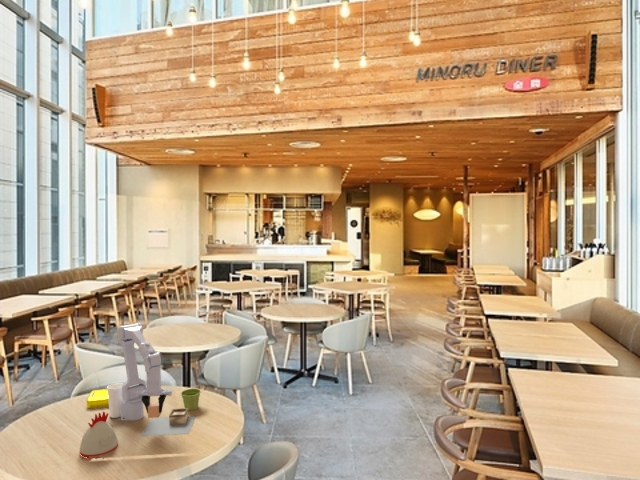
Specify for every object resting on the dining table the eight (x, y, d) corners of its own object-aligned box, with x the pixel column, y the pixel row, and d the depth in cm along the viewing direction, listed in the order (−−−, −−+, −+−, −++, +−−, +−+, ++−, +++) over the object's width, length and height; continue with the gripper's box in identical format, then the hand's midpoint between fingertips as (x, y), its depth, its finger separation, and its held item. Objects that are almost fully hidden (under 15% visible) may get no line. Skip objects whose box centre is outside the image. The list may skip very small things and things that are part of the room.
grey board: (140, 438, 197) (140, 436, 197) (152, 420, 215) (151, 417, 215) (188, 436, 198) (188, 433, 198) (196, 417, 216) (196, 415, 216)
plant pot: (189, 415, 219) (189, 397, 219) (177, 410, 225) (176, 392, 225) (205, 408, 227) (204, 391, 226) (193, 404, 233) (192, 387, 232)
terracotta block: (148, 417, 198) (147, 406, 198) (150, 413, 203) (150, 402, 202) (158, 417, 199) (158, 406, 198) (161, 413, 203) (160, 401, 203)
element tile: (91, 398, 243) (91, 389, 242) (122, 394, 247) (122, 386, 247) (86, 409, 228) (85, 400, 228) (119, 405, 233) (119, 396, 232)
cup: (129, 412, 223) (128, 383, 223) (120, 419, 215) (119, 389, 215) (113, 411, 224) (112, 382, 224) (104, 419, 216) (102, 388, 216)
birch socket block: (169, 424, 208) (169, 415, 208) (172, 417, 215) (172, 408, 215) (185, 423, 209) (185, 414, 208) (188, 416, 216) (188, 408, 215)
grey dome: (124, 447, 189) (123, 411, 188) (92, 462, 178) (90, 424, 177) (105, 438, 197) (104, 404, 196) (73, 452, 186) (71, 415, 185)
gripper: (133, 385, 195) (134, 417, 196) (168, 383, 197) (169, 415, 197) (138, 379, 202) (139, 410, 203) (172, 378, 204) (173, 408, 204)
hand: (154, 412), depth 201 cm, fingers closed on terracotta block, 4 cm apart
